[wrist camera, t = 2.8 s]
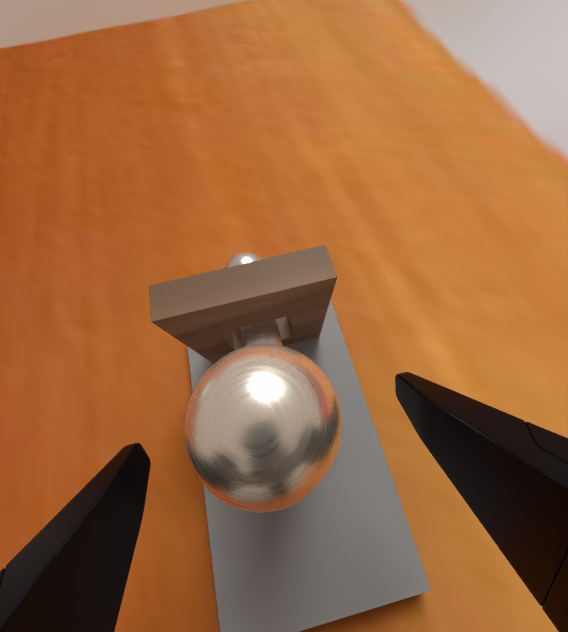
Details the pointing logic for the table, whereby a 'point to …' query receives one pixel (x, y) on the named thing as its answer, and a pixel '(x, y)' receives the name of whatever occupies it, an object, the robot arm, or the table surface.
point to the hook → (262, 422)
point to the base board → (317, 526)
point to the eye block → (247, 301)
